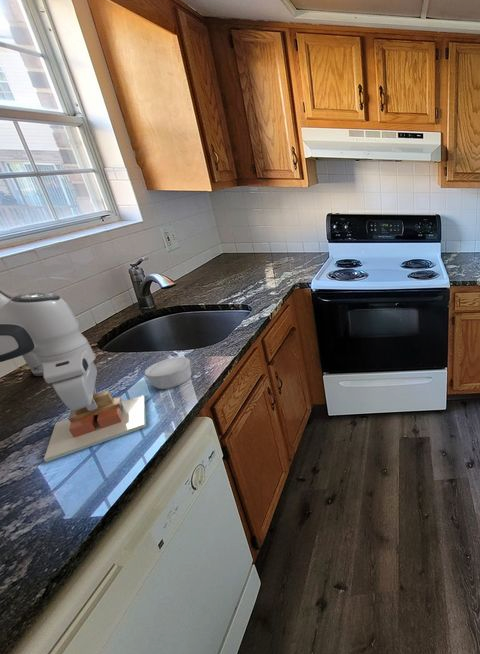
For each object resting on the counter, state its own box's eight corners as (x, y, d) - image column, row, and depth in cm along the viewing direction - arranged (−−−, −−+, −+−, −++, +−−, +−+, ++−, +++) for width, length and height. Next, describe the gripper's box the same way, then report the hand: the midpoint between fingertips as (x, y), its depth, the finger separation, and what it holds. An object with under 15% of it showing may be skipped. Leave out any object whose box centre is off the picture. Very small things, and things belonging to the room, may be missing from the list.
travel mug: (41, 377, 114) (6, 320, 106) (29, 374, 116) (-6, 317, 108) (65, 367, 119) (34, 312, 111) (54, 364, 122) (23, 309, 113)
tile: (45, 462, 81) (43, 459, 81) (57, 425, 93) (55, 422, 92) (145, 427, 91) (144, 424, 91) (145, 397, 103) (143, 394, 102)
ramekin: (159, 374, 114) (152, 360, 111) (199, 368, 117) (194, 353, 114) (144, 395, 104) (136, 379, 102) (188, 387, 107) (182, 371, 105)
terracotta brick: (101, 428, 90) (96, 420, 89) (102, 420, 93) (98, 412, 92) (122, 421, 92) (117, 413, 91) (122, 413, 95) (118, 406, 94)
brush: (74, 428, 90) (62, 409, 87) (76, 420, 93) (65, 401, 90) (123, 412, 95) (114, 393, 92) (124, 405, 98) (115, 386, 95)
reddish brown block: (73, 437, 87) (68, 429, 86) (76, 428, 90) (71, 420, 89) (95, 430, 89) (91, 422, 88) (97, 422, 92) (93, 414, 91)
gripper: (57, 346, 92) (81, 391, 98) (41, 381, 77) (72, 431, 83) (90, 339, 96) (112, 383, 101) (81, 370, 81) (108, 420, 87)
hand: (94, 405), depth 92 cm, fingers closed on brush, 2 cm apart
